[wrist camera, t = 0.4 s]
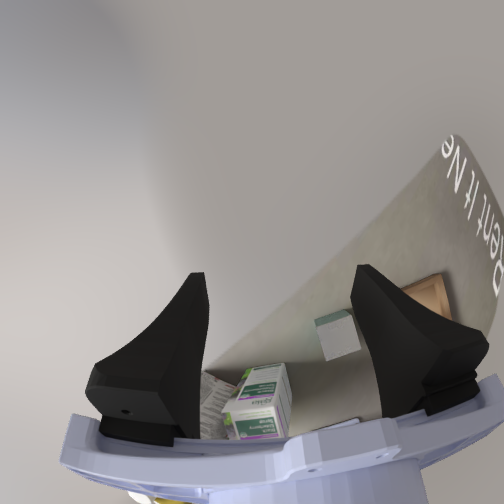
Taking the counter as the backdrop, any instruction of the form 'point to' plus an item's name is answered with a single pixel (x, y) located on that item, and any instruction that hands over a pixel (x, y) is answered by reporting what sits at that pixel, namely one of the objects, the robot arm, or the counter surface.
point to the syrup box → (259, 404)
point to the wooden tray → (430, 294)
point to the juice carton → (203, 422)
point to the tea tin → (337, 334)
